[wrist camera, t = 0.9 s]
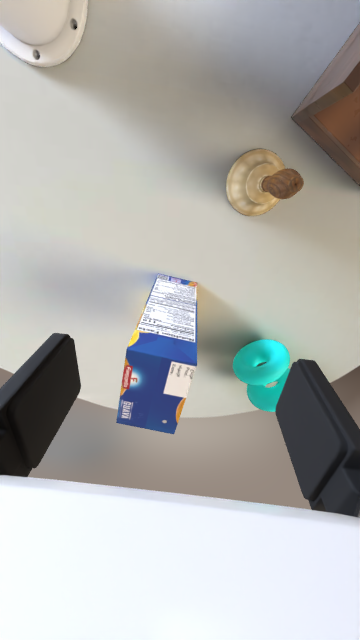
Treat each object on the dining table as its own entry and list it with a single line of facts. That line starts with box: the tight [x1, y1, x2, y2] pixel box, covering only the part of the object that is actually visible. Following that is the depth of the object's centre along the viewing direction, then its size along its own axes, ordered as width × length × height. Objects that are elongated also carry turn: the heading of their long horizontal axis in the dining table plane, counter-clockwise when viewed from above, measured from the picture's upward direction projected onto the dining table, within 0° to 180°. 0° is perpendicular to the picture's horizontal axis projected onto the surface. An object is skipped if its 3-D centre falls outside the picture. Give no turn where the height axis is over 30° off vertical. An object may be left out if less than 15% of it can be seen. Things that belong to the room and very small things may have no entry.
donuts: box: [233, 339, 290, 412], centre depth 46 cm, size 10×10×10 cm
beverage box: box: [117, 274, 197, 434], centre depth 36 cm, size 7×11×22 cm, turn 167°
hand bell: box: [226, 149, 304, 216], centre depth 28 cm, size 8×8×16 cm
